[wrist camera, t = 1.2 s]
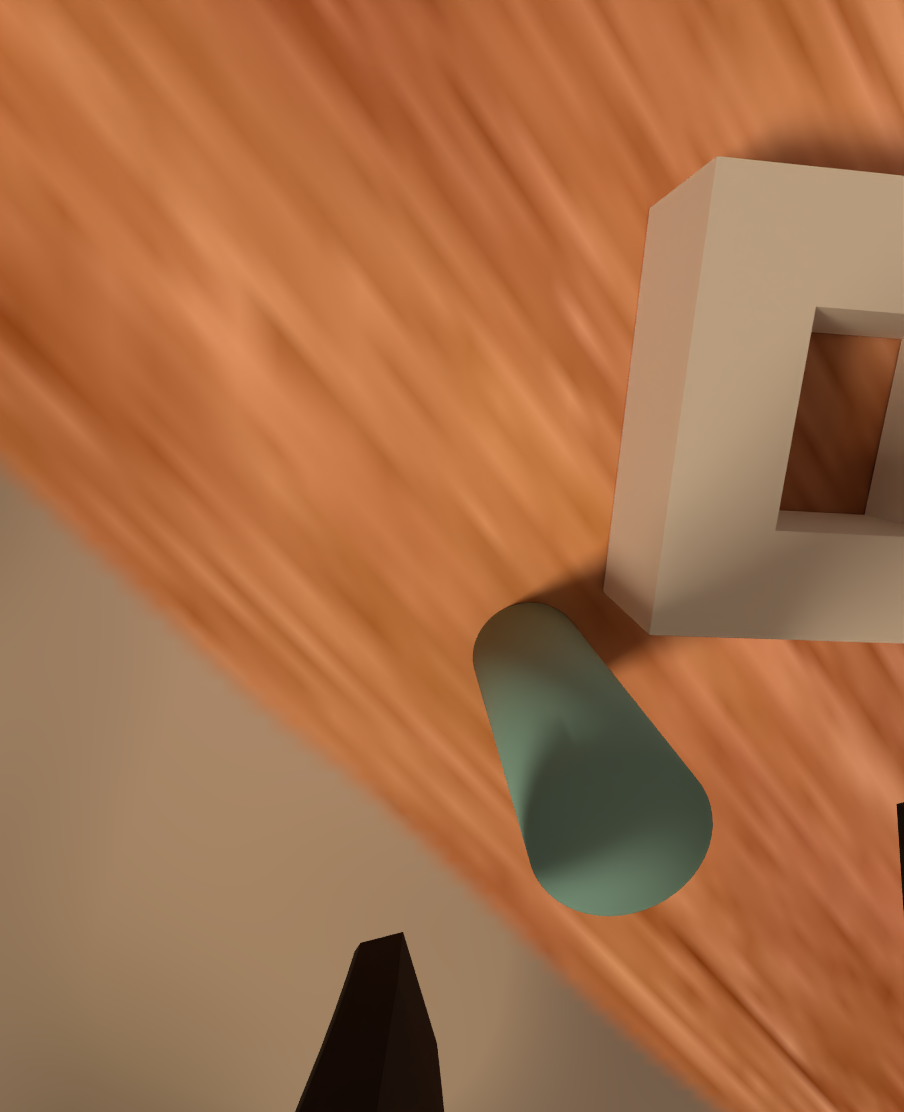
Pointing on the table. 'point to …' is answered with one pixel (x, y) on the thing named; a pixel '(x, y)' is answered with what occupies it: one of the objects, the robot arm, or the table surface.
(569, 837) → the peg
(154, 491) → the table surface
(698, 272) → the socket block
